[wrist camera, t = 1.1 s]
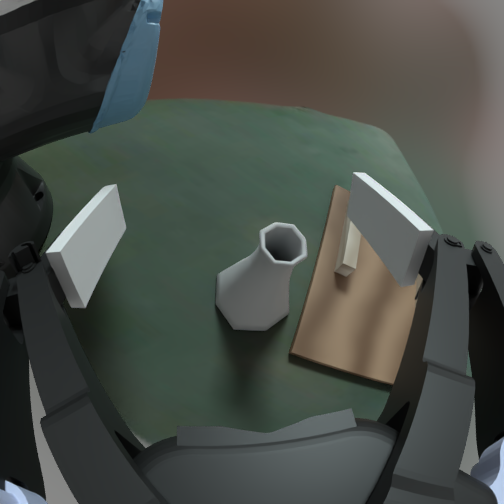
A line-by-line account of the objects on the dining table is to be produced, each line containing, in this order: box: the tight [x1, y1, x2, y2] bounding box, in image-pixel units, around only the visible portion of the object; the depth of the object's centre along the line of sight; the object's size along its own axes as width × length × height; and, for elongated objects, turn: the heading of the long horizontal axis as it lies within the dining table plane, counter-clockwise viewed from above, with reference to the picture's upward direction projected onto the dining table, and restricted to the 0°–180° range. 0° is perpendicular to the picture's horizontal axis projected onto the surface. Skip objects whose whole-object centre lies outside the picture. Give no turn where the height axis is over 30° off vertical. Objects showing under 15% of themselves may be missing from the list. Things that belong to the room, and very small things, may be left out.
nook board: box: [289, 185, 423, 385], centre depth 28 cm, size 17×22×3 cm
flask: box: [215, 222, 308, 331], centre depth 22 cm, size 7×7×10 cm
